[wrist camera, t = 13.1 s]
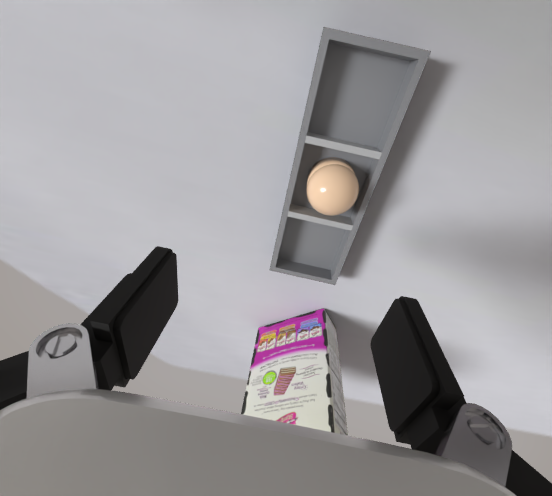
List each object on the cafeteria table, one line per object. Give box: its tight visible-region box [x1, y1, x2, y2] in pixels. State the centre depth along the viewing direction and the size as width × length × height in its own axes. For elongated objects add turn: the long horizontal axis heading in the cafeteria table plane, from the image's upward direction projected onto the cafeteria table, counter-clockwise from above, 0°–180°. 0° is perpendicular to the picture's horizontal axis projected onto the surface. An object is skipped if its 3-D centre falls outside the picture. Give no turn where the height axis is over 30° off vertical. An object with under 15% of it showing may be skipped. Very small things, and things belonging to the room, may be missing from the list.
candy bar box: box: [241, 309, 348, 435], centre depth 33 cm, size 11×5×16 cm, turn 118°
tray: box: [270, 27, 431, 285], centre depth 27 cm, size 23×8×3 cm, turn 169°
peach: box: [307, 157, 359, 216], centre depth 25 cm, size 5×5×5 cm
